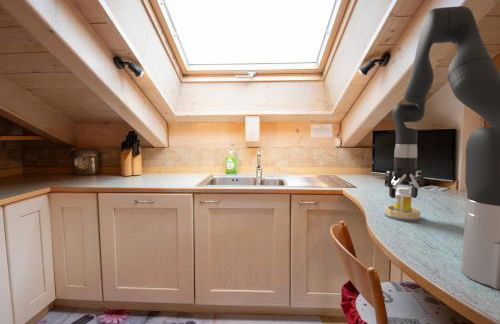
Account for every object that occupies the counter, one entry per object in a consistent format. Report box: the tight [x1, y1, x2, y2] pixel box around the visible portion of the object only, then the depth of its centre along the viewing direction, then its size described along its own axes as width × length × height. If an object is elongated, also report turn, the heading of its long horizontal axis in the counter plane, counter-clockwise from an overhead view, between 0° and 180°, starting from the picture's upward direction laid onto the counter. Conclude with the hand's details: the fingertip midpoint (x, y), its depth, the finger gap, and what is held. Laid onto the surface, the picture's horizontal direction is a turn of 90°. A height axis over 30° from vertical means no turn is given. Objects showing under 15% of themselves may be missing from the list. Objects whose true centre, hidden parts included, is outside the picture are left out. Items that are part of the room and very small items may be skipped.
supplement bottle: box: [393, 187, 412, 213], centre depth 102 cm, size 6×6×10 cm
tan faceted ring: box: [384, 204, 421, 223], centre depth 103 cm, size 12×12×3 cm
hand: (403, 197), depth 102 cm, fingers open, 8 cm apart
